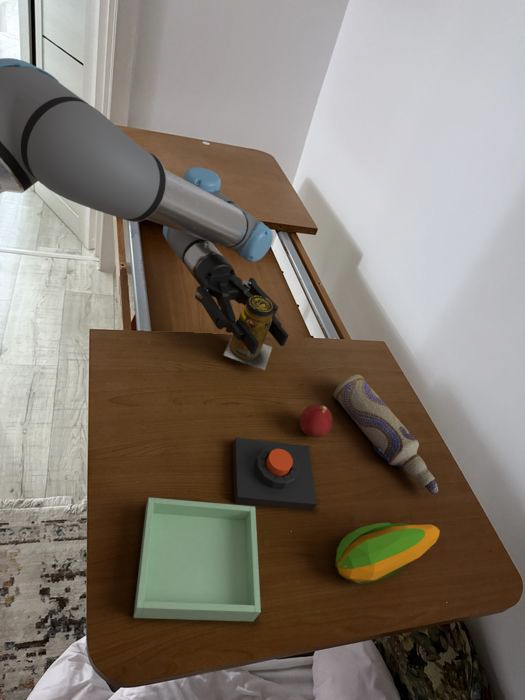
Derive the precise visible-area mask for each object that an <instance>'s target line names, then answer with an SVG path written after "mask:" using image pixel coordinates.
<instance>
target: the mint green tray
mask: <svg viewBox="0 0 525 700" xmlns="http://www.w3.org/2000/svg"><path fill="white" fill-rule="evenodd" d="M147 499H148V500H147V502H146V507H145V512H144V519H143V528H142V537H141V538H142V539H141V545H140V547H141V549H140V556H139V565H138V572H137V573H138V575H137V581H136V582H137V583H136V592H135V600H134V607H133V608H134V609H133V619H155V620H156V619H157V620H159V619H160V620H188V621H189V620H190V621H191V620H193V621H221V622H222V621H223V622H225V621H226V622H252V623H253V622H254V621H255V620H256V619H257V617H258V616H259V615H260V613H262V611H261V591H260V590H261V589H260V574H259V573H260V572H259V571H260V570H259V569H260V568H259V552H258V533H257V515H256V514H257V513H256V512H257V511H256V506H254V505H243V504H231V503H216V502H206V501H195V500H194V501H193V500H183V499H172V498H159V497H148V498H147Z"/></svg>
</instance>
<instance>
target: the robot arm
mask: <svg viewBox="0 0 525 700" xmlns="http://www.w3.org/2000/svg"><path fill="white" fill-rule="evenodd" d="M221 181H222V179H221V178H220V177H219V175H218V174H217V173H216V172H215V171H213V170H211V169H209V168H205V167H199V166H194V167H190V168H187V169H186V170H185V171H184V173H183V175H182V177H180V176H178V175H176V174H174V173H173V172H171V171H169V170H167V169H166V168H165V166H164V164H163V163H162V161H161V160H160V159H159V157H157V156H156V155H155V154H153V153H151V152H150V151H148V150H146V149H145V148H143V147H142V146H141V145H139V144H138V143H137V142H135V141H134V139H132V138H131V137H130V136H128V135H127V134H126V133H125V132H123V130H122V129H120V128H119V127H118V126H117V125H116V124H115V123H113V122H112V121H111V120H110V119H109V118H108V117H107V116H106V115H104V114H103V113H102V112H101V111H100V110H98V109H97V108H95V107H94V106H92V105H90V104H89V103H88V102H87V101H85V100H84V99H82V98H81V97H80V96H78V95H77V94H76V93H74V92H73V91H72V90H70V89H69V88H68V87H66V86H65V85H63V84H62V83H61V82H60V81H59V80H58V79H57V78H56V77H55V76H53V75H52V74H51V73H49V72H47V71H46V70H44V69H42V68H40V67H38V66H35V65H34V64H32V63H30V62H28V61H25V60H21V59H18V58H13V57H12V58H11V57H3V58H0V194H2V193H5V192H7V193H15V194H23V193H24V192H26V191H27V190H28V189H30V188H31V187H33V186H34V185H35V184H36V183H40V184H41V185H42V186H44V187H45V188H46V189H47V190H49V191H51V192H52V193H54V194H56V195H58V196H60V197H62V198H63V199H66V200H68V201H71V202H73V203H76V204H79V205H81V206H84V207H86V208H89V209H91V210H94V211H98V212H100V213H103V214H107V215H109V216H113V217H116V218H118V219H122V220H124V221H125V220H126V221H128V222H133V223H139V222H143V221H145V220H148V221H150V222H152V223H156V224H159V225H162V226H163V227H162V234H163V236H164V239H165V241H166V242H167V244H168V245H169V248H170V249H171V250H172V251H173V252H174V253H175V255H176V256H177V258H178V259H180V261H181V262H182V264H183V265H184V266H185V268H186V269H187V271H188V272H189V273H190V275H191V276H192V277H193V278H194V279H195V281H196V282H197V283H198V286H197V288H196V290H195V294H194V299H195V300H197V301H198V302H199V303H200V304H201V305H202V306H203V308H204V310H205V311H206V313H207V314H208V317H209V318H210V319H211V321H212V323H213V324H214V326H215V327H216V329H218V330H223V329H225V332H226V333H227V334H234V336H235V337H236V338H237V339H238V340H241V341H242V342H243V343H244V345H245V346H246V347H247V349H248V350H249V351H250V353H251V354H255V353H256V350H257V347H258V345H259V342H258V341H257V339H256V338H255V337H254V336H253V334H252V333H251V332H250V330H249V329H248V328H247V326H246V325H245V324H244V323H243V321H242V320H241V319H239V318H236V315H235V311H234V309H233V306H232V303H231V301H235V302H236V303H237V304H239V305H240V304H242V305H243V306H245V305H246V302H247V300H248V299H249V298H250V297H252V296H262V297H265V298H267V299H269V300H270V301H271V302H272V303H273V305H274V312H273V315H272V322H271V325H270V328H269V330H268V332H269V334H270V335H271V336H272V337H273V338H274V340H275V341H276V343H278V345H279V346H280V347H284V346H285V345H286V342H287V341H288V338H289V334H288V333H287V332H286V330H285V329H284V328H283V327H282V323H281V321H280V320H279V319H278V318H277V316H276V315H277V313H278V310H279V306H278V305H277V304H276V303H275V302H274V301H273V300H272V299H271V297H270V296H269V295H267V293H266V292H265V291H264V290H263V289H262V288H261V287H260V286H259V285H258V283H257V281H256V279H255V278H254V277H250V278H249V279H248V280H243V279H242V278H241V277H239V276H237V274H236V272H235V269H234V267H233V265H232V264H231V263H230V262H229V260H228V259H227V258H226V257H225V256H224V255H223V253H221V251H220V250H219V249H218V248H217V246H216V245H218V246H220V247H224V248H226V249H228V250H231V251H233V252H234V253H236V254H237V255H238V257H240V258H243V259H244V260H245V261H247V262H249V263H255V262H258V261H260V260H261V259H262V258H264V257H265V256H266V254H267V252H268V251H269V250H270V248H271V246H272V244H273V242H274V241H273V240H274V234H273V231H272V230H271V228H270V227H268V226H267V225H265V224H264V222H263V221H260V219H257V218H256V217H255V216H254V215H252V214H251V213H250V212H248V211H246V210H245V209H244V208H242V207H240V206H239V205H238V204H237V203H235V202H234V201H233V200H231V199H230V198H229V197H227V196H226V195H224V194H223V193H221V192H220V190H221V184H222V183H221ZM215 244H216V245H215ZM214 298H215V299H216V300H215V299H214Z"/></svg>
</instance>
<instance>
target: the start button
mask: <svg viewBox="0 0 525 700" xmlns="http://www.w3.org/2000/svg"><path fill="white" fill-rule="evenodd" d="M292 464H293V459H292V457H291V455H290V454H289V453H288V452H287V451H285V450H283V449H274V450H272V451H271V452H270V454H269V456H268V458H267V460H266V466H267V469H268V470H269V471H270V472H271V473H272V474H274V475H276V476H284V475H286V474H287V473H288V472H289V470H290V468H291V467H292Z"/></svg>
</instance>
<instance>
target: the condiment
mask: <svg viewBox="0 0 525 700" xmlns="http://www.w3.org/2000/svg"><path fill="white" fill-rule="evenodd" d="M273 312H274V305H273V303H272V302H271V301H270V300H269V299H267V298H265V297H262V296H252V297H250V298H249V299H248V300H247V302H246V305H244V307H243V308H242V309H241V311H240V314H239V317H238V319H241V320H242V321H243V323H244V324H245V325H246V326H247V328H248V329H249V330H250V332H251V333H252V334H253V336H254V337H255V338H256V339H257V341H258V342H259V345H258V347H257V350H256V353H255V354H251V353H250V351H249V350H248V349H247V347H246V346H245V345H244V343H243V342H242V341H241V340H238V339H237V338H236V337H235V336H234V334H233V333H231V337H230V339H229V342H228V343H227V346H226V348H225V350H224V353H223V356H224V357H228V358H230V359H232V360H234V361H237V362H240V363H243V364H247V365H250V366H252V367H254V368H257V369H260V370H263V371H266V368H267V366H268V363H269V358H270V357H271V352H272V351H273V347H272V346H270V345H268V344H265V340H266V338H267V335H268V332H269V331H268V330H269V328H270V325H271V322H272V315H273Z"/></svg>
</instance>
